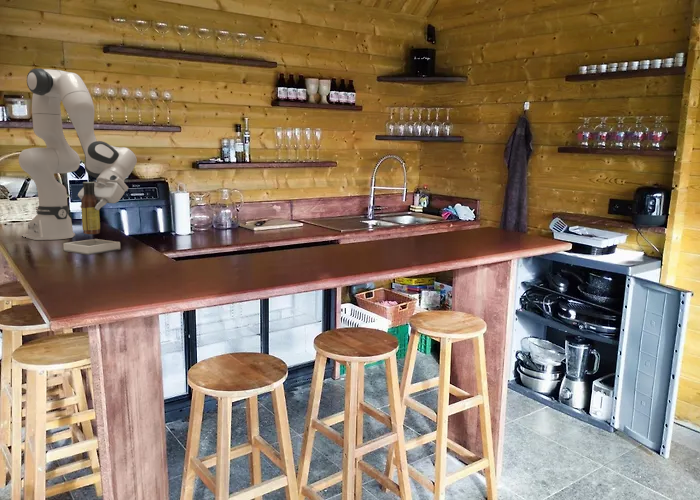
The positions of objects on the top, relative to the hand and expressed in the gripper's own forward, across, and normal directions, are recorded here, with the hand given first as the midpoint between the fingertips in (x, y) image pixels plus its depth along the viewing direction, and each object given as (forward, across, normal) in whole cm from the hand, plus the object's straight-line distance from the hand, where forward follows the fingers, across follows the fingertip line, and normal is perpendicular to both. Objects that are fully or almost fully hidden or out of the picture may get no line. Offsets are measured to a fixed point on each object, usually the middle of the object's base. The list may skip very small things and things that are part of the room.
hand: (89, 208), depth 222 cm
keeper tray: (+11, 0, +12) cm, 16 cm away
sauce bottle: (+7, 0, +7) cm, 10 cm away
